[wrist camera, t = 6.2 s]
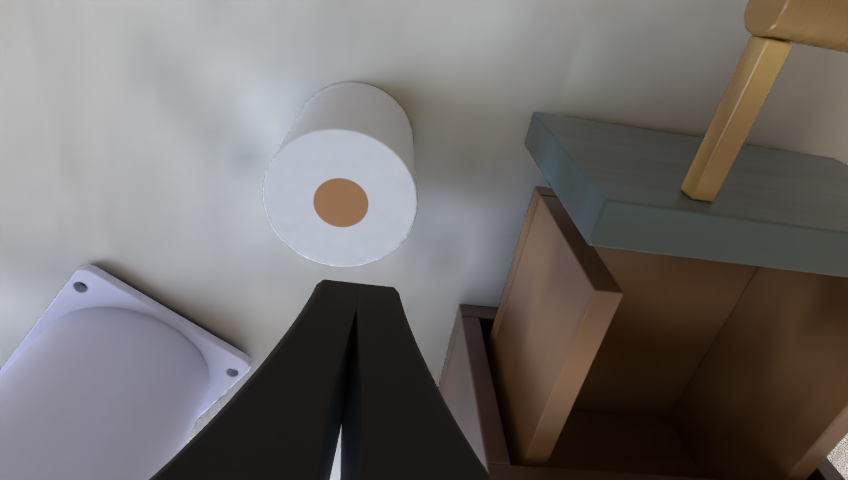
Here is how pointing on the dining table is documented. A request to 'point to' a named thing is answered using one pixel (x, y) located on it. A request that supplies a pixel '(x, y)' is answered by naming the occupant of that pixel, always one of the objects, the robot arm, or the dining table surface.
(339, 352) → the robot arm
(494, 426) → the cabinet
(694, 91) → the dining table surface
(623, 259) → the drawer
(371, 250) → the paper towel roll
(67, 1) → the dining table surface
